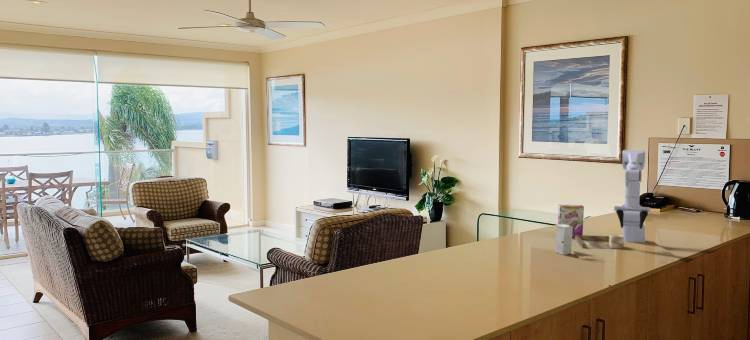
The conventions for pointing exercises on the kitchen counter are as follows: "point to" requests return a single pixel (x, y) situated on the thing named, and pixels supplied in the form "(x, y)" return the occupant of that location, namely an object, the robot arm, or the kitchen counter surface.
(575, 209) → the candy bar box
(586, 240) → the board
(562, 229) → the skincare box
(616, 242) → the block
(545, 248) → the kitchen counter surface
